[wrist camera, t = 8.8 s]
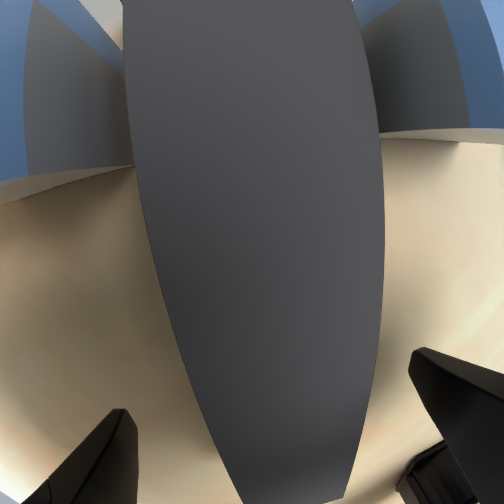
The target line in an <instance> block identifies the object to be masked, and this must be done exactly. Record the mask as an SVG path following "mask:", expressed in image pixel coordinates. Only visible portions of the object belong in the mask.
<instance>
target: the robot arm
mask: <svg viewBox="0 0 504 504" xmlns="http://www.w3.org/2000/svg"><path fill="white" fill-rule="evenodd" d="M408 373H409V376H410V378H411V380H412V382H413V384H414V386H415V388H416V390H417V392H418V394H419V396H420V398H421V401H422V403H423V405H424V407H425V409H426V410H427V412H428V414H429V415H430V417H431V419H432V420H433V422H434V423H435V425H436V427H437V428H438V430H439V432H440V433H441V435H442V437H443V438H444V440H445V442H443V443H441V444H439V445H438V446H436V447H434V448H432V449H431V450H429V451H427V452H425V453H423V454H421V455H419V456H418V457H416V458H415V459H414V460H413V461H412V462H411V464H410V466H409V467H408V469H407V471H406V472H405V474H404V475H403V477H402V479H401V480H400V482H399V483H398V485H397V486H396V488H395V490H396V492H399V493H400V495H401V496H402V498H403V500H404V502H405V504H478V503H480V504H504V374H502V373H499V372H496V371H493V370H490V369H487V368H484V367H481V366H478V365H475V364H472V363H469V362H466V361H463V360H460V359H458V358H455V357H452V356H449V355H446V354H443V353H440V352H438V351H435V350H432V349H429V348H426V347H421V348H418V349H416V350H414V351H413V352H412V355H411V359H410V364H409V368H408ZM138 475H139V464H138V430H137V426H136V424H135V422H134V421H133V419H132V417H131V416H130V414H129V412H128V411H127V410H126V409H113V410H112V411H111V412H110V413H109V414H108V415H107V416H106V417H105V418H104V419H103V420H102V421H101V422H100V423H99V424H98V425H97V427H96V428H95V429H94V430H93V431H92V432H91V433H90V434H89V435H88V436H87V437H86V438H85V439H84V440H83V441H82V442H81V444H80V445H79V446H78V447H77V448H76V449H75V450H74V451H73V452H72V453H71V454H70V455H69V456H68V457H67V458H66V459H65V460H64V462H63V463H62V464H61V465H60V466H59V467H58V468H57V469H56V470H55V471H54V472H53V473H52V474H51V475H50V476H49V478H48V479H46V480H45V481H44V482H43V484H42V485H41V486H40V487H39V488H38V489H37V490H36V491H35V492H34V493H33V494H31V495H30V496H29V497H28V498H27V499H26V500H25V501H23V502H22V503H21V504H137V490H138Z"/></svg>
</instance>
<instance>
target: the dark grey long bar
mask: <svg viewBox="0 0 504 504" xmlns="http://www.w3.org/2000/svg"><path fill="white" fill-rule="evenodd" d="M120 1H121V3H122V5H123V52H124V71H125V85H126V97H127V108H128V117H129V126H130V134H131V142H132V149H133V156H134V162H135V169H136V175H137V181H138V187H139V192H140V198H141V203H142V208H143V213H144V218H145V223H146V228H147V232H148V237H149V241H150V246H151V250H152V254H153V259H154V263H155V267H156V271H157V275H158V279H159V282H160V286H161V290H162V294H163V297H164V301H165V304H166V308H167V311H168V315H169V318H170V322H171V325H172V328H173V331H174V335H175V338H176V341H177V344H178V347H179V350H180V353H181V356H182V359H183V362H184V365H185V368H186V371H187V374H188V377H189V380H190V382H191V385H192V388H193V391H194V393H195V396H196V399H197V401H198V404H199V406H200V409H201V412H202V414H203V417H204V419H205V422H206V424H207V426H208V429H209V431H210V434H211V436H212V438H213V441H214V443H215V445H216V448H217V450H218V452H219V455H220V457H221V459H222V461H223V463H224V466H225V468H226V470H227V472H228V474H229V476H230V478H231V480H232V482H233V484H234V486H235V488H236V490H237V492H238V494H239V496H240V498H241V500H242V502H243V504H324V503H327V502H330V501H334V500H337V499H340V498H343V496H344V493H345V490H346V487H347V484H348V481H349V478H350V474H351V471H352V468H353V464H354V461H355V457H356V453H357V450H358V446H359V442H360V438H361V434H362V430H363V425H364V421H365V417H366V412H367V407H368V402H369V397H370V392H371V386H372V380H373V374H374V368H375V361H376V354H377V347H378V339H379V330H380V320H381V309H382V297H383V280H384V254H385V212H384V186H383V170H382V157H381V146H380V137H379V128H378V120H377V113H376V106H375V100H374V93H373V88H372V82H371V77H370V71H369V66H368V62H367V57H366V52H365V48H364V44H363V40H362V36H361V32H360V28H359V24H358V20H357V17H356V13H355V10H354V6H353V3H352V0H120Z"/></svg>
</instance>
